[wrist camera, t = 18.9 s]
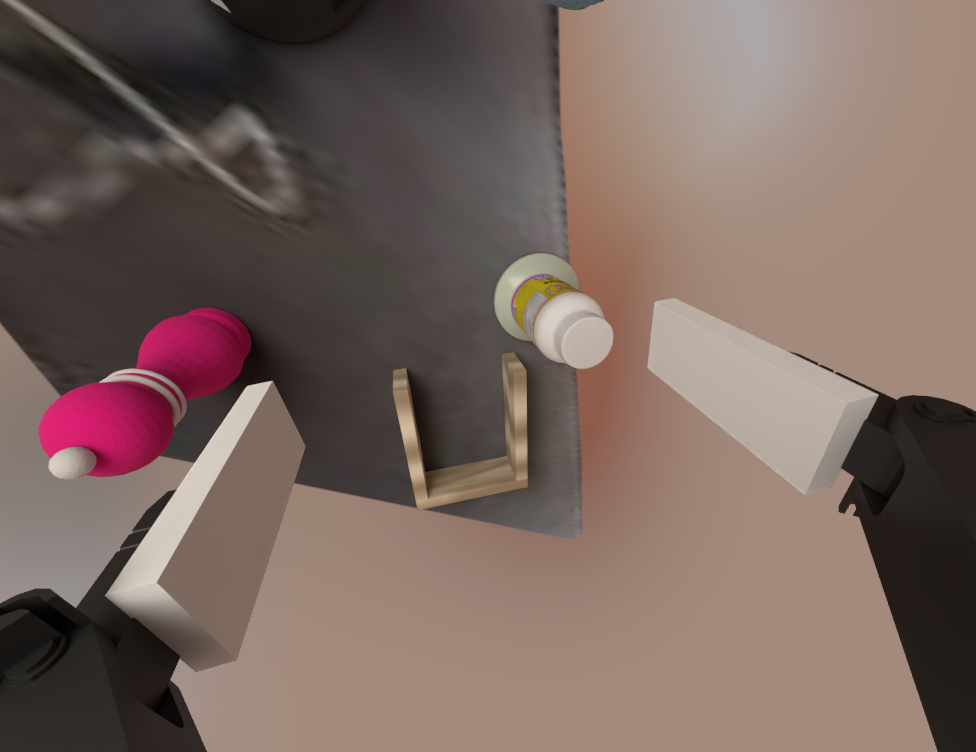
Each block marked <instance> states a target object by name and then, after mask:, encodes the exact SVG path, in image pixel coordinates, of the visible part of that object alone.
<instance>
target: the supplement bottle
mask: <svg viewBox="0 0 976 752" xmlns="http://www.w3.org/2000/svg"><path fill="white" fill-rule="evenodd" d="M510 309H511V314H512V317H513V319H514V321H515V322H516V323H517V325H518V326H519V327H520V328H521V329H522V330H523V332H524V333H525V334H526V335H527V336H528V337H529V338H530V339H531V341H532V342H533V343H534V344H535V345H536V346H537V348H538V349H539V350H540V351H541V352H542V353H543V354H544V355H545V356H546V357H547V358H549V359H551V360H552V361H555V362H559V363H567V364H568V365H570V366H572V367H574V368H577V369H587V368H590V367H593V366H595V365H597V364H599V363H600V362H601V361H602V360H604V358H605V357H606V356H607V355H608V353H609V352H610V350H611V347H612V344H613V331H612V328H611V326H610V325H609V324H608V322H607V321H606V320H605V319H604V314H603V311H602V310H601V308H600V306H599V305H598V303H597V302H596V301H595V300H594V299H592V298H591V297H589V296H588V295H586V294H584V293H582V292H580V291H579V290H577V289H576V288H574V287H572V286H570V285H569V284H567V283H565V282H564V281H562V280H560V279H558V278H557V277H555V276H552V275H550V274H544V273H540V274H534V275H531V276H529V277H527V278H525V279H524V280H523V281H521V282H520V283H519V284H518V286H517V287H516V288H515V290H514V292H513V295H512V298H511V303H510Z"/></svg>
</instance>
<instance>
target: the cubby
mask: <svg viewBox="0 0 976 752" xmlns="http://www.w3.org/2000/svg"><path fill="white" fill-rule="evenodd" d="M502 366H503V389H504V411H505V434H506V456H505V457H499V458H494V459H489V460H484V461H479V462H474V463H469V464H464V465H459V466H454V467H448V468H443V469H438V470H433V471H428V472H425V467H424V462H423V456H422V451H421V446H420V440H419V435H418V429H417V424H416V419H415V413H414V408H413V402H412V397H411V391H410V386H409V381H408V375H407V370H406V368H405V369H399V370H393V394H394V399H395V404H396V408H397V413H398V418H399V423H400V427H401V432H402V437H403V442H404V446H405V451H406V456H407V461H408V465H409V470H410V475H411V480H412V484H413V489H414V494H415V499H416V503H417V508H418V510H421V509H425V508H430V507H435V506H440V505H444V504H449V503H454V502H458V501H463V500H468V499H473V498H477V497H482V496H487V495H492V494H496V493H501V492H506V491H510V490H515V489H520V488H525V487H528V479H527V380H526V369H525V368H524V366H523V365H522V363H521V362H520V360H519V359H518V358H517V356H516V355H515V353H514V352H513V353H506V354H502Z"/></svg>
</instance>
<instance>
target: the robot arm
mask: <svg viewBox="0 0 976 752" xmlns="http://www.w3.org/2000/svg"><path fill="white" fill-rule="evenodd" d="M204 1H205V2H206V3H208V4H209V5H210V6H211V7H212V8H213V9H214V10H216V11H217V12H218V13H219V14H221V15H222V16H224V17H225V18H226V19H228V20H229V21H231V22H232V23H234V24H236V25H237V26H239V27H241V28H243V29H244V30H246V31H248V32H251V33H253V34H255V35H258V36H260V37H263V38H266V39H270V40H274V41H278V42H285V43H305V42H311V41H315V40H319V39H321V38H324V37H326V36H328V35H330V34H332V33H334V32H335V31H337V30H338V29H340V28H341V27H342V26H344V25H345V24H346V23H347V22H348V21H349V20H350V19H351V17H352V16H353V15H354V14H355V13H356V11H357V10H358V8H359V7H360V5H361V3H362V2H363V0H204ZM539 1H543V2H546V3H549V4H552V5H555V6H559V7H562V8H565V9H570V10H581V9H584V8H586V7H588V6H590V5H594V4H596V3H599V2H602V1H604V0H539ZM647 368H648V369H649V370H650V371H651V372H653V373H654V374H655V375H656V376H657V377H659V378H660V379H661V380H663V381H664V382H665V383H666V384H667V385H669V386H670V387H671V388H672V389H674V390H675V391H676V392H677V393H679V394H680V395H681V396H682V397H684V398H685V399H686V400H687V401H689V402H690V403H691V404H692V405H693V406H695V407H696V408H697V409H699V410H700V411H701V412H702V413H703V414H705V415H706V416H707V417H708V418H710V419H711V420H712V421H713V422H715V423H716V424H717V425H718V426H720V427H721V428H722V429H723V430H725V431H726V432H727V433H728V434H729V435H731V436H732V437H733V438H735V439H736V440H737V441H738V442H739V443H741V444H742V445H743V446H744V447H746V448H747V449H748V450H749V451H751V452H752V453H753V454H755V455H756V456H757V457H758V458H759V459H761V460H762V461H763V462H764V463H766V464H767V465H768V466H769V467H770V468H772V469H773V470H774V471H775V472H777V473H778V474H779V475H781V476H782V477H783V478H784V479H785V480H787V481H788V482H789V483H790V484H792V485H793V486H794V487H795V488H797V489H798V490H799V491H800V492H802V493H803V494H804V495H807V494H811V493H814V492H818V491H821V490H825V489H828V488H831V487H832V486H833V484H834V482H835V480H836V478H837V476H838V474H839V472H840V470H841V469H843V470H845V471H846V472H848V473H849V474H851V475H852V476H854V479H853V481H852V483H851V484H850V486H849V488H848V490H847V492H846V493H845V495H844V497H843V499H842V501H841V503H840V505H839V512H840V513H845V512H846V510H847V508H848V507H849V505H850V504H855V506H856V511H855V512H854V514H853V515H854V516H857V517H859V518H860V521H861V524H862V527H863V530H864V533H865V536H866V539H867V542H868V545H869V548H870V551H871V554H872V557H873V560H874V563H875V566H876V569H877V571H878V575H879V578H880V581H881V584H882V587H883V589H884V593H885V596H886V598H887V601H888V605H889V607H890V611H891V613H892V616H893V619H894V622H895V625H896V628H897V631H898V634H899V637H900V640H901V643H902V646H903V649H904V652H905V655H906V658H907V661H908V664H909V667H910V670H911V673H912V676H913V679H914V682H915V685H916V688H917V691H918V694H919V697H920V700H921V703H922V706H923V709H924V712H925V715H926V717H927V721H928V724H929V727H930V730H931V732H932V736H933V739H934V742H935V745H936V748H937V751H938V752H976V411H974V410H972V409H970V408H967V407H965V406H963V405H960V404H958V403H954V402H951V401H948V400H945V399H940V398H934V397H929V396H916V395H911V396H905V397H900V398H899V399H898V400H896V399H894V398H891V397H889V396H887V395H885V394H883V393H881V392H879V391H876V390H874V389H872V388H870V387H868V386H866V385H864V384H862V383H859V382H857V381H855V380H853V379H851V378H849V377H847V376H844V375H842V374H840V373H838V372H836V373H834V372H833V370H832V369H829V368H827V367H825V366H823V365H818V363H817V362H814V361H812V360H810V359H808V358H806V357H804V356H802V355H799V354H796V353H792V352H789V351H786V350H783V349H781V348H779V347H777V346H775V345H773V344H771V343H769V342H767V341H764V340H762V339H760V338H758V337H756V336H754V335H752V334H750V333H748V332H745V331H743V330H741V329H739V328H737V327H735V326H733V325H731V324H729V323H726V322H724V321H722V320H720V319H718V318H716V317H714V316H712V315H709V314H707V313H705V312H703V311H701V310H699V309H697V308H695V307H692V306H691V305H688V304H686V303H684V302H682V301H680V300H678V299H676V298H671V299H666V300H661V301H657V302H655V304H654V313H653V321H652V330H651V340H650V348H649V357H648V366H647ZM305 447H306V446H305V444H304V442H303V440H302V438H301V436H300V434H299V432H298V430H297V428H296V426H295V424H294V422H293V420H292V418H291V416H290V414H289V412H288V410H287V408H286V406H285V404H284V402H283V400H282V398H281V396H280V394H279V392H278V390H277V388H276V386H275V384H274V382H273V381H269V382H264V383H259V384H254V385H249V386H247V387H246V388H245V390H244V391H243V393H242V394H241V396H240V397H239V399H238V400H237V402H236V403H235V405H234V406H233V408H232V409H231V410H230V412H229V413H228V415H227V416H226V418H225V419H224V421H223V422H222V424H221V425H220V427H219V428H218V430H217V431H216V433H215V434H214V436H213V437H212V439H211V440H210V441H209V443H208V444H207V446H206V447H205V449H204V450H203V452H202V453H201V455H200V456H199V458H198V459H197V461H196V462H195V464H194V465H193V467H192V468H191V470H190V471H189V473H188V474H187V475H186V477H185V478H184V480H183V481H182V483H181V485H180V486H179V487H178V489H176V490H173V491H168V492H167V493H166V494H165V495H164V496H162V497H161V498H160V499H159V500H158V501H157V502H156V503H155V504H153V505H152V506H151V507H150V508H149V509H148V510H147V511H146V512H145V514H144V515H143V516H142V518H141V519H140V520H139V522H138V523H137V525H136V526H135V527H134V529H133V533H132V534H130V535H129V536H128V537H127V538H126V540H125V541H124V543H123V544H122V545H121V547H120V549H121V550H120V551H118V552H116V554H115V555H114V556H113V558H112V559H111V561H110V562H109V563H108V565H107V566H106V567H105V569H104V571H103V572H102V573H101V574H100V576H99V577H98V578H97V580H96V581H95V583H94V584H93V585H92V587H91V588H90V590H89V591H88V592H87V594H86V595H85V597H84V598H83V599H82V601H81V602H80V603H79V605H78V606H77V607H76V608H75V607H73V606H72V605H71V604H69V603H68V602H66V601H65V600H64V599H63V598H61V597H60V596H59V595H57V594H56V593H55V592H54V591H52V590H51V589H34V590H31V591H28V592H24V593H21V594H18V595H16V596H14V597H12V598H10V599H8V600H6V601H4V602H2V603H0V752H207V751H206V749H205V746H204V745H203V742H202V740H201V737H200V735H199V733H198V731H197V728H196V726H195V724H194V721H193V719H192V717H191V714H190V712H189V710H188V708H187V705H186V703H185V701H184V698H183V696H182V694H181V692H180V689H179V688H178V687H177V686H176V685H175V684H174V683H173V682H172V681H171V680H170V679H171V677H172V674H173V672H174V670H175V668H176V665H177V663H178V661H179V659H181V660H182V661H184V662H185V663H186V664H187V665H188V666H190V667H191V668H192V669H193V670H194V671H195V672H198V671H201V670H204V669H208V668H211V667H215V666H218V665H221V664H225V663H228V662H232V661H235V660H237V658H238V654H239V651H240V648H241V645H242V642H243V639H244V636H245V633H246V630H247V627H248V623H249V620H250V617H251V614H252V611H253V608H254V605H255V602H256V599H257V595H258V593H259V589H260V586H261V583H262V580H263V577H264V574H265V571H266V568H267V565H268V562H269V558H270V555H271V552H272V549H273V546H274V543H275V539H276V537H277V534H278V531H279V527H280V524H281V521H282V518H283V515H284V512H285V509H286V506H287V503H288V499H289V496H290V493H291V490H292V487H293V484H294V481H295V478H296V475H297V472H298V469H299V465H300V462H301V459H302V456H303V453H304V450H305Z"/></svg>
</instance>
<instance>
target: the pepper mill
mask: <svg viewBox="0 0 976 752" xmlns="http://www.w3.org/2000/svg"><path fill="white" fill-rule="evenodd" d="M250 349H251V337H250V334H249V332H248V330H247V328H246V327H245V325H244V324H243V323H242V322H241V321H240V320H239V319H238V318H236V317H235V316H233V315H232V314H230V313H228V312H226V311H223V310H220V309H216V308H199V309H195V310H192V311H190V312H189V313H187V314H185V315H180V316H175V317H171V318H169V319H166V320H164V321H162V322H161V323H159V324H158V325H157V326H156V327H154V328H153V329H152V330H151V331H150V332H149V333H148V334H147V336H146V337H145V339H144V341H143V343H142V346H141V348H140V351H139V357H138V363H137V367H136V368H134V369H125V370H120V371H117V372H115V373H113V374H111V375H109V376H108V377H107V378H105V379H104V380H102V381H100V382H99V383H92V384H88V385H84V386H82V387H79V388H76V389H73V390H71V391H70V392H68V393H66V394H65V395H63V396H62V397H60V398H59V399H58V400H57V401H55V402H54V403H53V404H52V405H51V406H50V407H49V408H48V410H47V411H46V412H45V414H44V416H43V418H42V420H41V422H40V425H39V439H40V443H41V446H42V448H43V450H44V451H45V452H46V453H47V454H48V456H49V457H50V458H51V459H50V461H49V470H50V471H51V473H52V474H53V475H54V476H56V477H58V478H62V479H76V478H80V477H82V476H85V475H89V476H97V477H108V476H117V475H123V474H126V473H129V472H132V471H136V470H138V469H140V468H142V467H144V466H146V465H148V464H149V463H151V462H152V461H153V460H155V459H156V458H157V457H158V456H159V455H161V454H162V453H163V452H164V450H165V449H166V448H167V446H168V444H169V443H170V441H171V439H172V437H173V431H174V427H175V426H176V424H177V423H178V422H179V421H180V420H181V419H182V418H183V416H184V414H185V412H186V407H187V404H186V402H187V401H188V400H191V399H195V398H199V397H203V396H207V395H210V394H213V393H215V392H217V391H219V390H221V389H223V388H225V387H226V386H227V385H229V384H230V383H231V382H232V381H233V380H234V379H235V378H236V377H237V376H238V375H239V373H240V371H241V369H242V367H243V362H244V359H245V358H246V357H247V355H248V354H249V352H250Z"/></svg>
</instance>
